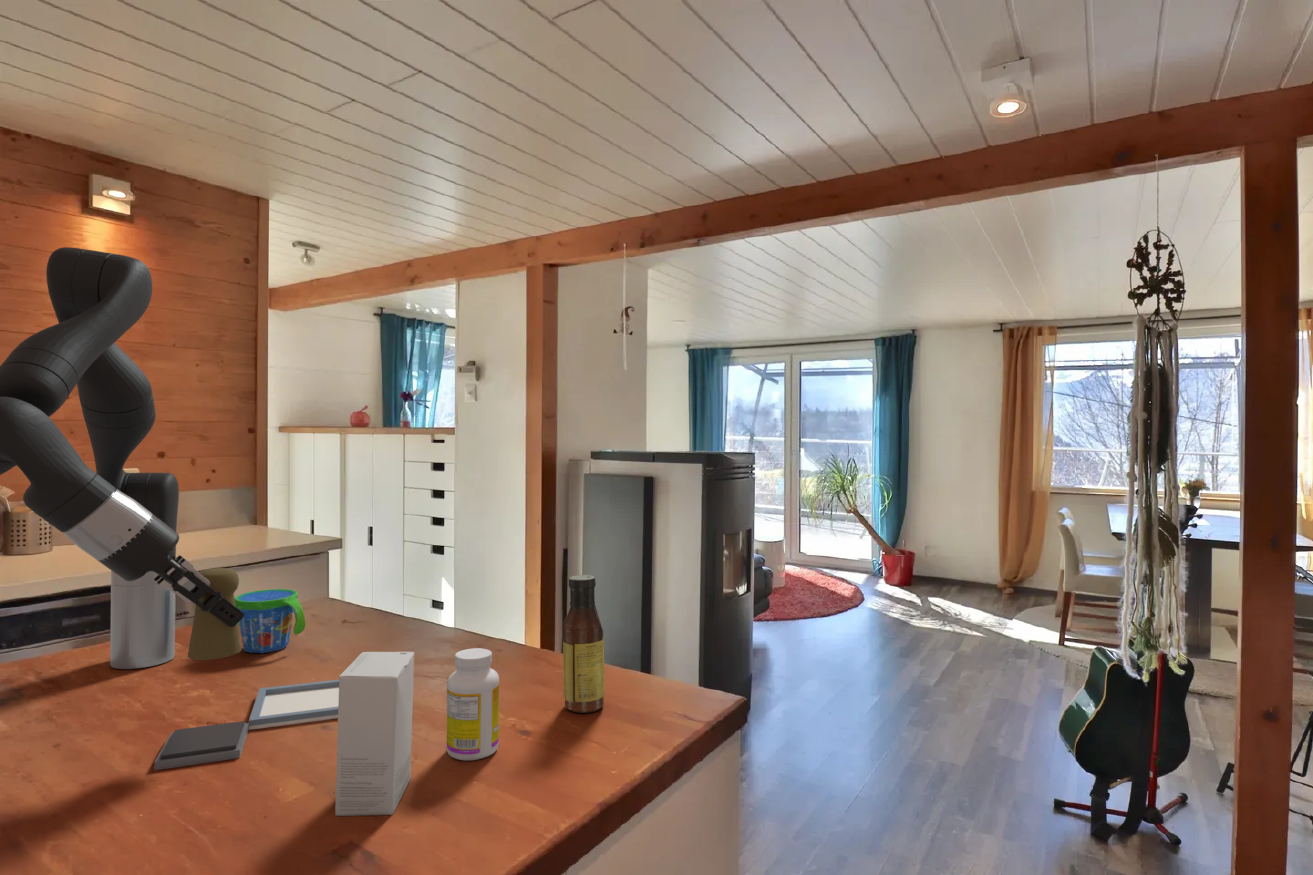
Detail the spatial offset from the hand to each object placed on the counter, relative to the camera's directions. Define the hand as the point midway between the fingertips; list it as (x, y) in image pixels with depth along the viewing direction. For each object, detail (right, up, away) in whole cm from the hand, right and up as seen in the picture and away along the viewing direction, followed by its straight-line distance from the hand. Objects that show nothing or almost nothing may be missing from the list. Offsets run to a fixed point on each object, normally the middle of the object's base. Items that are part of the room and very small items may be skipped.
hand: (233, 616), depth 95 cm
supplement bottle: (+33, -17, -2) cm, 37 cm away
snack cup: (-17, -16, +39) cm, 45 cm away
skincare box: (+25, -17, -14) cm, 33 cm away
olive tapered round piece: (-2, -5, -1) cm, 5 cm away
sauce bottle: (+45, -17, +13) cm, 50 cm away
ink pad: (-2, -16, -3) cm, 17 cm away
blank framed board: (+4, -16, +12) cm, 20 cm away
